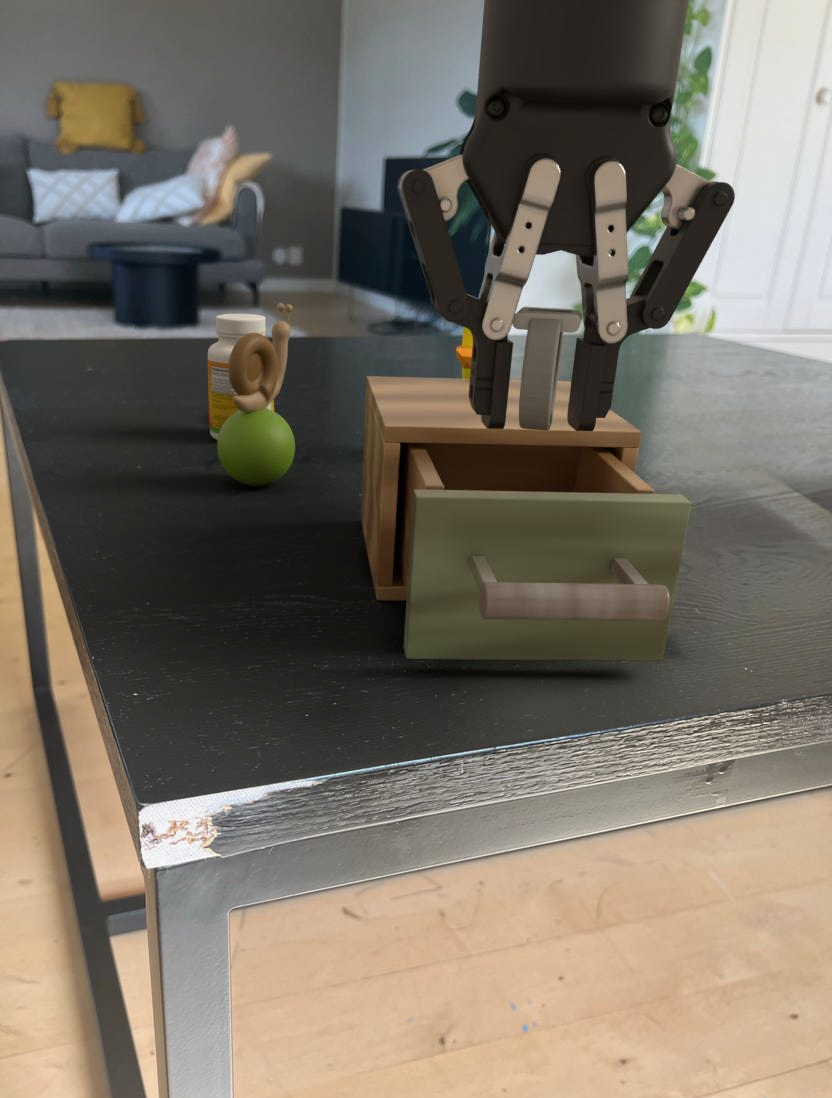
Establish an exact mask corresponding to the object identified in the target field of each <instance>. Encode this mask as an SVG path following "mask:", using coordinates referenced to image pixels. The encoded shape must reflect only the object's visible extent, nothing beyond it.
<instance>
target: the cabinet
mask: <svg viewBox="0 0 832 1098" xmlns="http://www.w3.org/2000/svg"><path fill="white" fill-rule="evenodd" d="M365 380H366V381H365V404H364V405H365V406H364V429H363V430H364V431H363V455H362V457H363V458H362V480H361V481H362V482H361V504H360V505H361V507H360V508H361V510H360V521H361V526H362V533H363V537H364V543H365V547H366V552H367V558H368V563H369V568H370V573H371V578H372V583H373V588H374V595H375V599H376V601H391V602H392V601H393V602H394V601H397V602H398V601H400V602H407V592H406V589H405V585H404V581H403V578H402V574H401V570H400V567H399V563H398V559H397V556H396V549H397V532H398V514H399V497H400V479H401V461H402V444H403V443H444V444H489V445H535V446H580V447H604V448H605V449H607V450H608V451H609V452H610V453H611V454H612V455H614V456H615V457H616V458H617V459H618V460H619V461H621V462H622V463H623V464H624V465H625V466H626V467H628V468H629V469H630V470H631V471H632V472H633V473H635V474H636V468H637V463H638V456H639V450H640V449H639V448H640V444H641V437H642V431H641V430H639V429H638V428H637V427H636V426H633V425H632V424H631V423H630V422H628V421H627V420H626V419H624V418H623V417H621V416H619V415H618V414H617V413H616V412H614V411H613V410H611V408H610V409H609V411H608V413H607V415H606V417H605V418H596V424H595V428H594V430H593V431H576V430H575V429H573V428H572V427H571V426H570V425H569V424H568V420H567V412H568V404H569V396H570V388H571V381H570V380H568V381H566V380H558V383H557V391H556V398H555V405H554V411H553V418H552V423H551V427H550V429H549V430H535V429H523V428H521V427H520V425H519V398H520V386H521V379H510V382H509V392H508V402H507V412H506V421H505V426H504V429H487V428H486V427H485V425H484V424H483V423H482V420H481V415H477V414H476V413H475V411H474V410H473V409H472V407H471V404H470V400H469V397H468V395H469V384H470V379H462V378H456V377H455V378H451V377H417V376H416V377H413V376H379V375H378V376H377V375H367V376H366V379H365Z"/></svg>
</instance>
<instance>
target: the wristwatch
mask: <svg viewBox="0 0 832 1098" xmlns="http://www.w3.org/2000/svg"><path fill="white" fill-rule="evenodd" d="M582 321H583V312H581V311H580V310H579V309H577V308H576V309H575V308H559V307H558V308H557V307H539V306H522V307H521V308H520V309H519V310H517V311H516V312H515V316H514V319H513V322H512V327H513V328H514V329H516V330H520V331H521V330H523V331H526V338H525V345H524V352H523V359H522V360H523V361H522V369H521V377H520V380H521V386H520V398H519V425H520V427H521V428H523V429H535V430H549V429H550V427H551V423H552V418H553V411H554V405H555V398H556V391H557V383H558V381H559V375H560V366H561V360H562V359H561V358H562V349H563V340H564V333H570V334H571V333H576V332H577V331H578V330H579V329H580V326H581V324H582Z"/></svg>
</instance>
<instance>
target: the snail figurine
mask: <svg viewBox="0 0 832 1098" xmlns="http://www.w3.org/2000/svg"><path fill="white" fill-rule="evenodd" d="M276 310H277V311H278V312H279V313H280V315H279V320H278V321H276V322H275V323H274V324H273V325H272V327H271V337H272V341H270V339H269V337H267V336H266V335H265V336H264V335H261V334H258V333H249V334H246V335H244V336H243V337H241V338H240V339H239V340H238V341H237V342H236V344H235V345H234V347H233V349H232V352H231V354H230V358H229V364H228V375H229V380H230V383H231V386H232V388H233V389H234V391H235V392H236V393H237V394H238V395H239V396H234V397H233V402H234V404H235V406H236V407H237V408H238V409H239V411H237V412H235V413H234V414H232V415H231V416H230V417H229V418H228V419H227V420H226V421H225V423H224V424H223V426H222V428H221V430H220V432H219V435H218V440H216V450H217V456H218V459H219V462H220V464H221V466H222V468H223V469H224V470H225V471H226V473H227V474H228V475H229V477H231V478H233V479H234V480H235V481H237V482H239V483H241V484H243V485H246V486H253V487H262V486H266V485H270V484H272V483H275V482H276V481H279V480H280V479H281V478H282V477H284V475H285V474H286V473H287V472H288V470H289V469H290V467H291V466H292V463H293V461H294V458H295V452H296V440H295V436H294V432H293V430H292V429H291V427H290V425H289V424H288V422H287V421H286V419H284V418H283V417H282V416H281V415H280V414H279V413H277V412H275V410H274V411H272V410H270V409H267V408H266V407H267V406H268V405H269V404H270V403H271V402H272V401H273V400H274V401H275V399H276V398H277V396H278V395H279V393H280V391H281V388H282V385H283V382H284V379H285V378H284V377H285V374H286V368H287V362H288V352H289V351H288V350H289V346H288V345H289V340H290V338H291V327H290V315H291V314H290V313H291V312H292V311H293V306H292V304H290V303H287V304H283V302H279V303H277V305H276ZM284 311H285V312H286V313H287V314H288V315H287V322H286V321H284V320H282V316H283V315H282V312H284Z"/></svg>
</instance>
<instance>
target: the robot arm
mask: <svg viewBox="0 0 832 1098" xmlns="http://www.w3.org/2000/svg"><path fill="white" fill-rule="evenodd" d="M689 1H690V0H484V2H483V11H482V13H483V14H482V24H481V28H482V29H481V38H480V39H481V40H480V51H479V64H478V65H479V66H478V79H477V90H476V91H477V92H476V105H475V112H474V118H473V121H472V124H471V126H470V129H469V131H468V133H467V134H466V136H465V138H464V140H463V141H462V144H461V146H460V150H459V153H458V155H457V156H454V157H451V158H449V159H447V160H444V161H442V162H439V163H437V164H434V165H432V166H431V165H430V166H429V167H426V168H424V169H410V170H406V171H405V172H403V173H402V174H401V175H400V177H399V178H398V181H397V185H396V187H397V193H398V196H399V199H400V203H401V206H402V210H403V212H404V216H405V218H406V222H407V225H408V229H409V231H410V235H411V238H412V241H413V245H414V248H415V251H416V254H417V257H418V260H419V263H420V267H421V270H422V273H423V277H424V280H425V283H426V286H427V289H428V292H429V296H430V300H431V302H432V306H433V308H434V311H436V312H437V313H438V314H439V315H440V316H441V317H442V318H443V319H444V320H446V321H448V322H450V323H454V324H456V325H458V326H461V327H465V328H468V329H469V330H470V331H471V334H472V337H473V347H472V359H471V371H470V384H469V395H468V397H469V400H470V404H471V407H472V409H473V410H474V411H475V413H476V414H477V415H481V420H482V423H483V424H484V425H485V427H486V428H487V429H504V426H505V421H506V412H507V402H508V392H509V382H510V380H511V371H512V360H513V351H514V342H513V341H511V340H510V339H509V334H510V331H511V329H512V327H513V324H512V322H513V319H514V316H515V314H516V313H517V310H518V306H519V302H520V298H521V296H522V292H523V289H524V287H525V285H526V284H527V283H528V281H529V278H530V274H531V272H532V269H533V265H534V262H535V259H536V255H538V256H544V255H549V254H551V253H552V254H553V253H556V252H560V251H562V252H565V253H567V254H571V255H575V264H576V274H577V278H578V281H579V284H580V292H581V294H580V295H581V308H582V321H583V329H584V331H583V337H576V340H575V347H574V348H575V349H574V356H573V364H572V365H573V366H572V373H571V388H570V396H569V404H568V412H567V420H568V424H569V425H570V426H571V427H572V428H573V429H575V430H576V431H593V430H594V428H595V424H596V418H605V417H606V415H607V413H608V411H609V409H610V410H611V407H612V403H613V397H614V396H613V395H614V394H613V393H614V388H615V382H616V375H617V368H618V361H619V354H620V348H621V346H622V344H623V343H624V341H625V340H626V339H627V338H628V337H630V336H631V335H633V334H637V333H639V332H643V331H645V330H648V329H652V330H659V329H662V328H664V327H665V326H667V324H669V323H670V321H671V319H672V317H673V315H674V313H675V311H676V310H677V308H678V306H679V304H680V302H681V300H682V299H683V297H684V295H685V293H686V292H687V290H688V288H689V286H690V284H691V282H692V281H693V279H694V277H695V275H696V273H697V272H698V269H699V267H700V266H701V264H702V263H703V261H704V259H705V257H706V255H707V253H708V251H709V249H710V248H711V246H712V244H713V242H714V240H715V238H716V237H717V234H718V233H719V231H720V229H721V228H722V226H723V223H724V222H725V220H726V218H727V216H728V214H729V213H730V211H731V209H732V207H733V205H734V203H735V199H736V194H735V190H734V188H733V186H732V185H731V184H730V183H728V182H725V181H716V180H715V181H714V180H712V181H709V180H708V179H706V178H704V177H702V176H701V175H698V174H696V173H695V172H693V171H691V170H689V169H687V168H686V167H683V166H681V165H680V164H678V163H677V156H678V155H677V151H676V146H675V144H674V141H673V137H672V132H671V116H672V111H673V106H674V101H675V97H676V89H677V82H678V75H679V68H680V62H681V55H682V48H683V42H684V36H685V28H686V22H687V16H688V8H689V4H690V3H689ZM465 182H466V183H467V185H468V187H469V188H470V190H471V192H472V193H473V195H474V197H475V199H476V201H477V202H478V204H479V206H480V208H481V210H482V211H483V213H484V215H485V217H486V219H487V220H488V222H489V224H490V226H491V228H492V229H493V231H494V232H493V236H492V239H491V242H490V245H489V249H488V254H487V257H486V261H485V264H484V275H483V278H482V282H481V287H480V290H479V294H478V297H476V296H474V295H471V294H469V293H468V292H467V290H466V286H465V283H464V280H463V277H462V273H461V270H460V267H459V263H458V260H457V257H456V252H455V250H454V247H453V243H452V239H451V235H450V232H449V229H448V226H447V223H446V222H447V221H449V220H451V219H452V218H454V217H455V215H456V214H457V212H458V209H459V199H458V193H459V190H460V188H461V186H462V185H463V183H465ZM661 192H662V194H663V206H662V208H661V211H660V219H661V223H662V224H663V225H664V227H665V228H664V231H663V233H662V235H661V237H660V239H659V240H658V243H657V244H656V246H655V248H654V250H653V252H652V254H651V256H650V258H649V260H648V262H647V263H646V265H645V266H644V267H645V268H644V269H643V271H642V273H641V275H640V277H639V279H638V280H637V282H636V285H635V286H634V288H633V290H632V292H631V294H630V296H629V297H627V288H626V287H627V283H628V280H629V255H628V254H629V252H628V235H627V234H628V232H629V231H630V230H631V229H632V227H633V226H634V225H635V224H636V222H637V221H638V220H639V219H640V218H641V217H642V215H644V212H645V211H647V209H648V208H649V207H650V205H651V204H652V203H653V201H654V200H655V199H656V198H657V197H658V195H660V193H661ZM610 252H611V253H610Z"/></svg>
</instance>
